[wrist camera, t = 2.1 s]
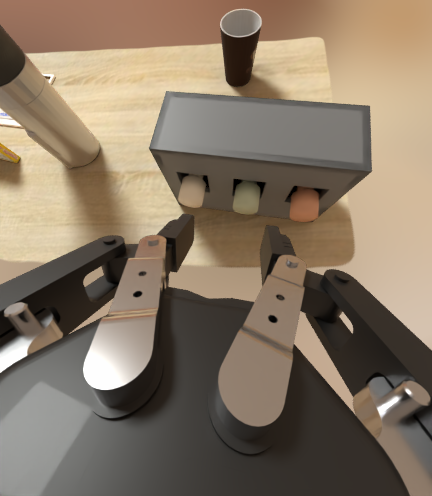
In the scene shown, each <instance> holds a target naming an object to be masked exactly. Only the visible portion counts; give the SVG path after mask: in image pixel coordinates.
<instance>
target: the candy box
mask: <svg viewBox="0 0 432 496" xmlns="http://www.w3.org/2000/svg"><path fill="white" fill-rule="evenodd" d="M0 159H2V160H6V161H10V162H15V163H18V161H19V159H20V157H19V156H18V155H16V154H15V153H14V152H12V151H11V150H9V149H8V148H6V147H5V146H4V145H2V144H1V143H0Z"/></svg>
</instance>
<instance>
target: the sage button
mask: <svg viewBox="0 0 432 496" xmlns="http://www.w3.org/2000/svg"><path fill="white" fill-rule="evenodd" d="M256 182H257V181H250V180H242V183H240V184H238V185H237V186H236V190H235V196H234V202H233V210H234V211H235V212H237V213H240V214H245V215H250V214H254V213H256V212H257V211H258V206H259V198H260V187H259V186H258V185H256Z"/></svg>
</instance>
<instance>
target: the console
mask: <svg viewBox="0 0 432 496" xmlns="http://www.w3.org/2000/svg"><path fill="white" fill-rule="evenodd" d="M370 127H371V126H370V106H365V105H364V106H363V105H350V104H336V103H323V102H309V101H295V100H281V99H267V98H253V97H239V96H225V95H211V94H198V93H184V92H170V91H166V94H165V97H164V100H163V104H162V107H161V110H160V114H159V117H158V120H157V124H156V127H155V130H154V134H153V137H152V140H151V144H150V147H149V149H150V151H151V153H152V155H153V157H154V159H155V160H156V162H157V164H158V166H159V168H160V170H161V172H162V173H163V175H164V177H165V179H166V181H167V183H168V185H169V187H170V188H171V190H172V192H173V194H174V196H175V198H176V200H177V201H178V197H179V192H180V188H181V184H182V180H183V178H184V177H185V176H189V174H198V175H207V176H208V182H209V188H208V187H206V189H205V193H204V198H203V203H202V206H201V207H202V208H210V209H217V210H225V211H232V212H235V211H234V210H233V202H234V196H235V191H233V185H234V179H242V180H250V181H259V182H265V185H264V188H263V191H262V194H260V198H259V206H258V211H257V212H256V213H254V214H255V215H263V216H270V217H278V218H285V219H290V205H291V198H290V197H287V196H288V195H289V193H290V191H291V190H292V188H293V187H294V186H303V187H311V188H314V190H315V191H317V192H318V193H319V210H318V217H319V216H320V215H321V214H322V213H323V212H325V211H326V210H327V209H328V208H329V207H330V206H332V205H333V204H334V203H335V202H336V201H338V200H339V199H340V198H341V197H342V196H343V195H345V194H346V193H347V192H348V191H349V190H350V189H352V188H353V187H354V186H355V185H356V184H358V183H359V182H360V181H361V180H362V179H363V178H365V177H366V176H367V175H368V174H369V173H371V172H372V163H371V128H370ZM178 203H179V205H183V204H181V203H180V202H179V201H178ZM313 221H314V220H313ZM313 221H308V222H313Z"/></svg>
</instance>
